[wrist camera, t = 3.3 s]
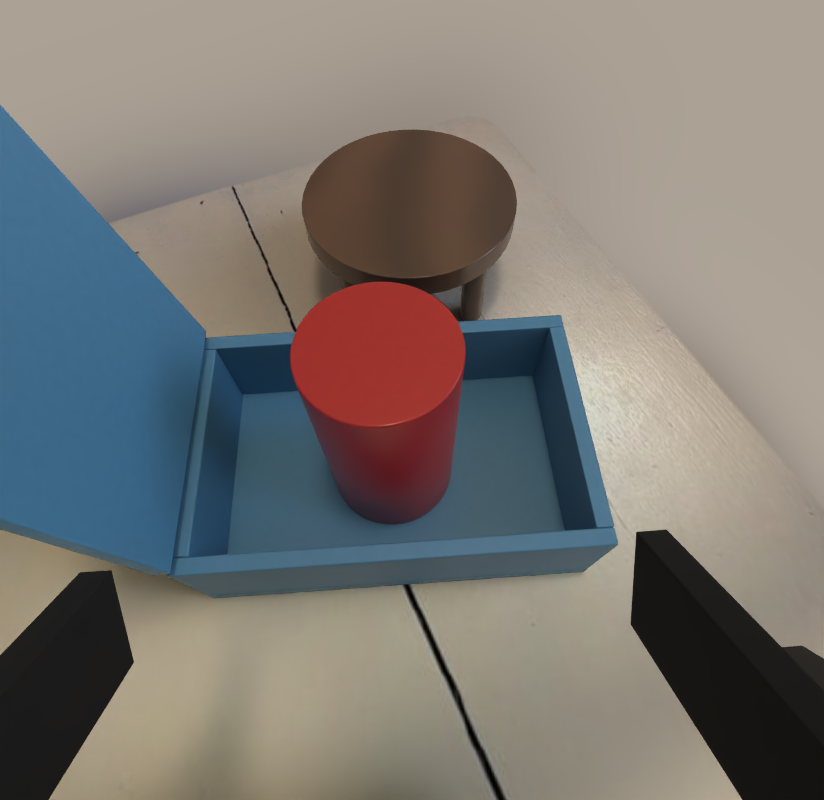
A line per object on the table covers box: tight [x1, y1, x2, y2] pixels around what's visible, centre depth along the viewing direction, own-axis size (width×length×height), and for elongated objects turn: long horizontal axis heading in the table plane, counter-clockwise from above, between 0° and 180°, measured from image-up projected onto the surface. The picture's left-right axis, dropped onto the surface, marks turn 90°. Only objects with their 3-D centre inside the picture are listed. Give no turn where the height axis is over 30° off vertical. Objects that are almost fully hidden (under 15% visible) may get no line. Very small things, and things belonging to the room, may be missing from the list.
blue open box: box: [168, 315, 618, 598], centre depth 29 cm, size 20×13×6 cm, turn 94°
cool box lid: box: [0, 105, 206, 575], centre depth 17 cm, size 20×13×1 cm
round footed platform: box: [302, 130, 517, 321], centre depth 35 cm, size 13×13×7 cm
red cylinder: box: [290, 282, 466, 524], centre depth 25 cm, size 7×7×12 cm
